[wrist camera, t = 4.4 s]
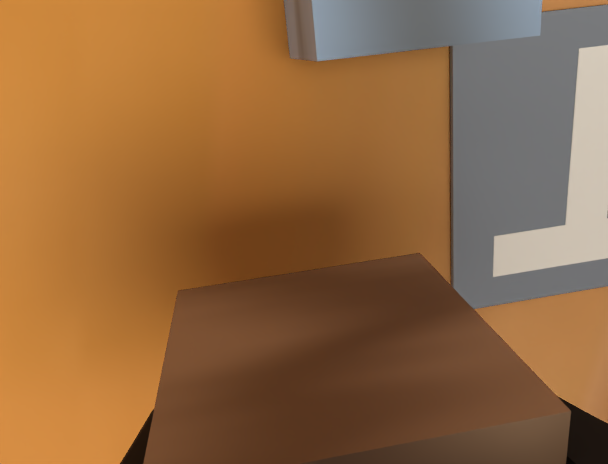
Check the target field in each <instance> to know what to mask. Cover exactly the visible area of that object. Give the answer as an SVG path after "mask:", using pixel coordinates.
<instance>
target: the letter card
mask: <svg viewBox="0 0 608 464" xmlns="http://www.w3.org/2000/svg"><path fill="white" fill-rule="evenodd" d="M450 121H451V286H452V287H453V288H454V289H455V290H456V291H457V292H458V293H459V294H460V296H461V297H462V298H463V299H464V300H465V301H466V302H467V303H468V304H469V305H470V306H471V307H472V308H473V309H477V308H482V307H488V306H494V305H500V304H506V303H512V302H517V301H523V300H529V299H535V298H541V297H547V296H553V295H558V294H564V293H570V292H576V291H582V290H588V289H593V288H599V287H605V286H608V5H601V6H592V7H583V8H574V9H565V10H556V11H547V12H542V13H541V32H540V36H531V37H523V38H514V39H505V40H497V41H488V42H480V43H471V44H462V45H454V46H450Z"/></svg>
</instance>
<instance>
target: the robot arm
mask: <svg viewBox="0 0 608 464" xmlns="http://www.w3.org/2000/svg"><path fill="white" fill-rule="evenodd" d="M557 397H558V396H557ZM558 398H559V397H558ZM559 399H560V400H561V401H562V402H563V403H564V404H565V405H566V406H567V407H568V408H569V409H570V410H571V417H570V427H569V437H568V448H567V458H566V464H608V424H607V423H606V422H604V421H602V420H600V419H598V418H596V417H594V416H592V415H590V414H588V413H587V412H585V411H583V410H581V409H579V408H577V407H576V406H574V405H572V404H570V403H568V402H567V401H565V400H563V399H561V398H559ZM153 413H154V409H153V411H152V412H151V414H150V415H149V417H148V419H147V420H146V422H145V424H144V425H143V427H142V429H141V430H140V432H139V434H138V435H137V437H136V439H135V440H134V442H133V444H132V445H131V447H130V449H129V450H128V452H127V453H126V455H125V457H124V458H123V460H122V461H121V463H120V464H143V463H144V458H145V453H146V448H147V443H148V438H149V433H150V428H151V423H152V418H153Z"/></svg>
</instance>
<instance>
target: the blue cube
mask: <svg viewBox="0 0 608 464" xmlns="http://www.w3.org/2000/svg"><path fill="white" fill-rule="evenodd" d="M284 7H285V17H286V26H287V35H288V44H289V54H290V58H292V59H301V60H310V61H324V60H333V59H342V58H350V57H359V56H367V55H376V54H385V53H393V52H402V51H411V50H419V49H428V48H436V47H445V46H454V45H462V44H471V43H480V42H488V41H497V40H505V39H514V38H523V37H531V36H540V32H541V13H542V0H284Z"/></svg>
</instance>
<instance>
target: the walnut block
mask: <svg viewBox="0 0 608 464" xmlns="http://www.w3.org/2000/svg"><path fill="white" fill-rule="evenodd" d="M570 417H571V410H570V409H569V408H568V407H567V406H566V405H565V404H564V403H563V402H562V401H561V400H560V399H559V398H558V397H557V396H556V395H555V394H554V393H553V392H552V391H551V390H550V389H549V387H548V386H547V385H546V384H545V383H544V382H543V381H542V380H541V379H540V378H539V377H538V376H537V375H536V374H535V373H534V372H533V371H532V370H531V369H530V368H529V367H528V366H527V364H526V363H525V362H524V361H523V360H522V359H521V358H520V357H519V356H518V355H517V354H516V353H515V352H514V351H513V350H512V349H511V348H510V347H509V346H508V345H507V344H506V343H505V341H504V340H503V339H502V338H501V337H500V336H499V335H498V334H497V333H496V332H495V331H494V330H493V329H492V328H491V327H490V326H489V325H488V324H487V323H486V322H485V321H484V320H483V319H482V317H481V316H480V315H479V314H478V313H477V312H476V311H475V310H474V309H473V308H472V307H471V306H470V305H469V304H468V303H467V302H466V301H465V300H464V299H463V298H462V297H461V296H460V294H459V293H458V292H457V291H456V290H455V289H454V288H453V287H452V286H451V285H450V284H449V283H448V282H447V281H446V280H445V279H444V278H443V277H442V276H441V275H440V274H439V273H438V271H437V270H436V269H435V268H434V267H433V266H432V265H431V264H430V263H429V262H428V261H427V260H426V259H425V258H424V257H423V256H422V255H421V254H420V253H416V254H410V255H403V256H397V257H391V258H384V259H378V260H371V261H365V262H359V263H352V264H346V265H339V266H333V267H327V268H320V269H314V270H307V271H301V272H295V273H288V274H282V275H275V276H269V277H263V278H256V279H250V280H243V281H237V282H231V283H224V284H218V285H211V286H205V287H199V288H192V289H186V290H179V291H178V293H177V298H176V303H175V308H174V313H173V318H172V323H171V328H170V333H169V338H168V343H167V348H166V353H165V358H164V363H163V368H162V373H161V378H160V383H159V388H158V393H157V398H156V403H155V408H154V413H153V418H152V423H151V428H150V433H149V438H148V443H147V448H146V453H145V458H144V463H143V464H566V458H567V448H568V437H569V427H570Z"/></svg>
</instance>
